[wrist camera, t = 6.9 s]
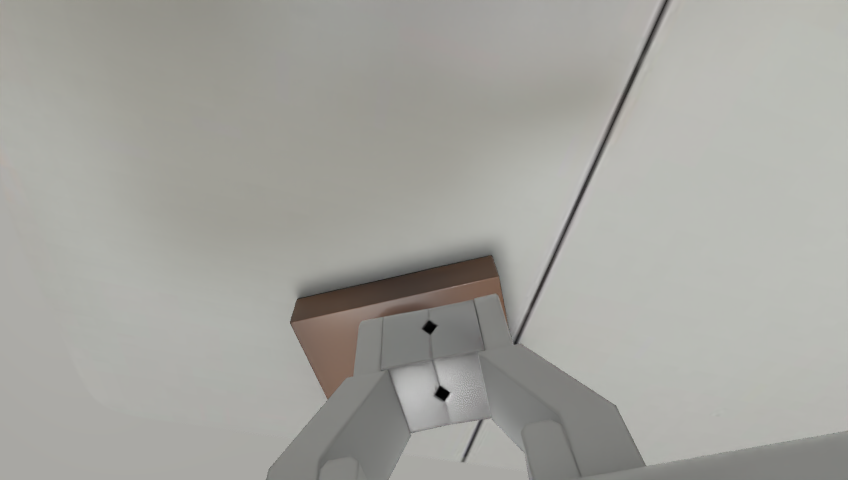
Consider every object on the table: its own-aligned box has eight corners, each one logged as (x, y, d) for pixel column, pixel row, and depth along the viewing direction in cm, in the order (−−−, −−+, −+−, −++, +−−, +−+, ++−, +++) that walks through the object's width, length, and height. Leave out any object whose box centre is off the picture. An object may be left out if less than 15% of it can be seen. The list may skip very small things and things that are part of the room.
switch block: (347, 408, 33) (342, 459, 30) (296, 298, 28) (282, 344, 25) (514, 374, 32) (528, 422, 29) (491, 254, 27) (505, 295, 24)
